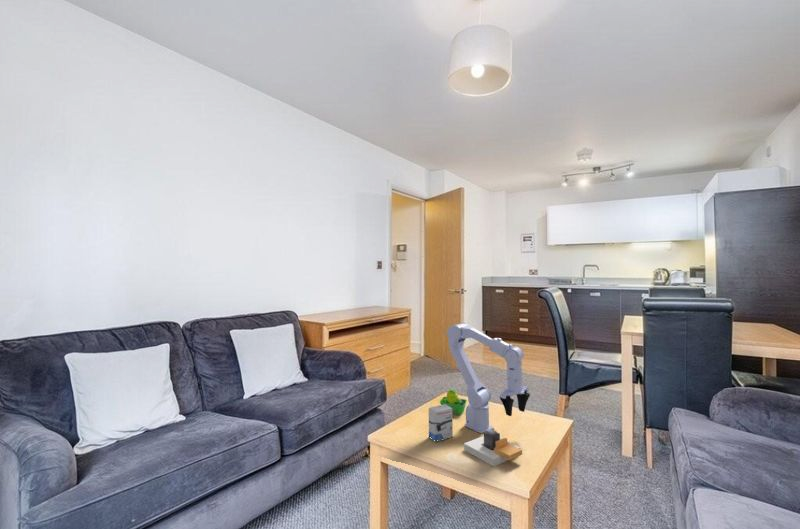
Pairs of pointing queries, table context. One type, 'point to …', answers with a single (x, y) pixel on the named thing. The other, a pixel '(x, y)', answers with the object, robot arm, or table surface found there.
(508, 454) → the tan slab
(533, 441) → the table surface
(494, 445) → the plug
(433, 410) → the ink box
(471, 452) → the socket
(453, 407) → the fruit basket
